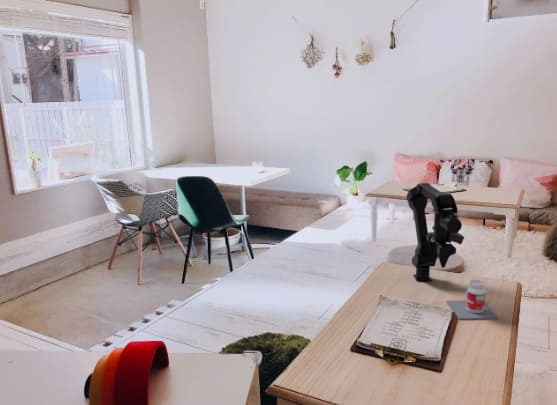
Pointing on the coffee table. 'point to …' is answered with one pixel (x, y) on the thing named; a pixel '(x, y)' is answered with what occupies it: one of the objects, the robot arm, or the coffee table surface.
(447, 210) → the robot arm
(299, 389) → the coffee table surface
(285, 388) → the coffee table surface
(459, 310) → the mat
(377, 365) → the coffee table surface
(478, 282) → the pill bottle
